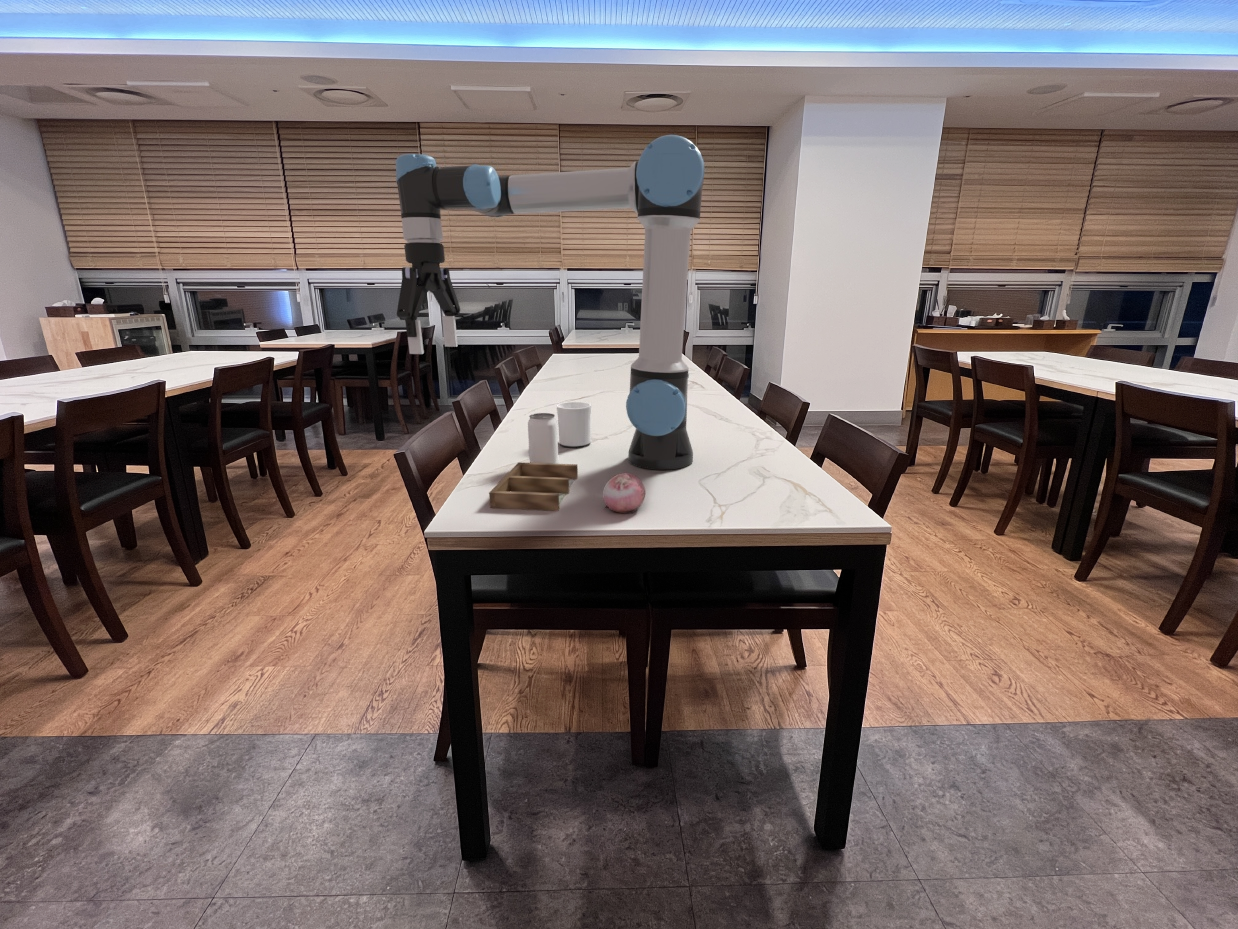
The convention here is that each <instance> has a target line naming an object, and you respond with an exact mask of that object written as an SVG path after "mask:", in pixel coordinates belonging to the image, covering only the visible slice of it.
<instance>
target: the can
mask: <svg viewBox="0 0 1238 929" xmlns="http://www.w3.org/2000/svg"><path fill="white" fill-rule="evenodd" d="M528 417H529V419H528V422H527V432H528V433H527V435H528V437H527V438H528V452H529V453H528V454H529V455H528V456H529V463H550V464H559V444H558V443H559V435H558V420H556V416H555V414H554V413H548V412H539V413H538V412H537V413H532V414H530V415H529V416H528Z"/></svg>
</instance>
